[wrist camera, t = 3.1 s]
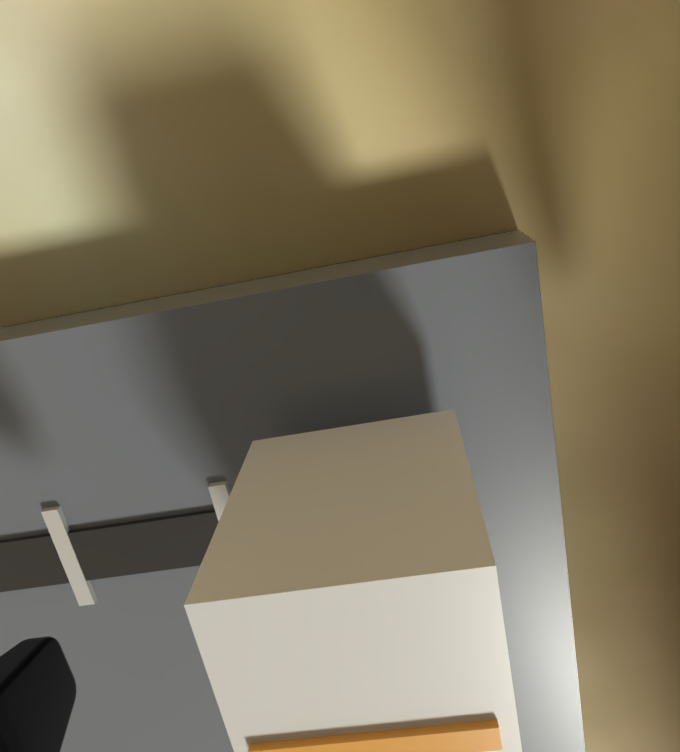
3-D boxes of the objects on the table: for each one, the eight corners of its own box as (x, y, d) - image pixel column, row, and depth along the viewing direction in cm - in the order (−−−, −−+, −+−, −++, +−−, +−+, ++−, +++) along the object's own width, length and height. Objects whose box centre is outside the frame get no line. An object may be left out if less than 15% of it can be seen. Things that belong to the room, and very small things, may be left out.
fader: (451, 394, 10) (497, 572, 6) (483, 607, 11) (539, 871, 7) (259, 425, 10) (180, 612, 6) (312, 628, 12) (276, 889, 8)
